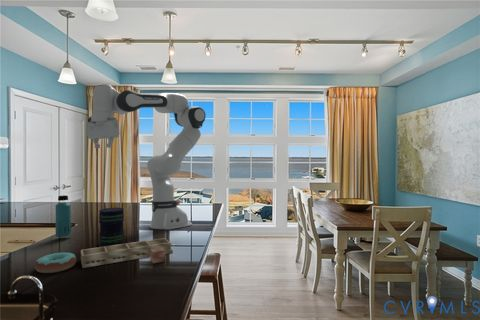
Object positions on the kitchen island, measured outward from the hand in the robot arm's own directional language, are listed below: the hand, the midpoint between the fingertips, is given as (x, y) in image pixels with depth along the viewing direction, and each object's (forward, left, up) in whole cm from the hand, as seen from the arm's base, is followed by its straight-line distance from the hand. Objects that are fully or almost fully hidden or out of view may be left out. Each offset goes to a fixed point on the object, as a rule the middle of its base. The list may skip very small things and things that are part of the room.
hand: (103, 147), depth 140 cm
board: (-5, +35, -42) cm, 55 cm away
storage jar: (-2, +15, -42) cm, 45 cm away
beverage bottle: (+16, -7, -42) cm, 46 cm away
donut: (+18, +36, -43) cm, 59 cm away
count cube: (-13, +47, -42) cm, 65 cm away
